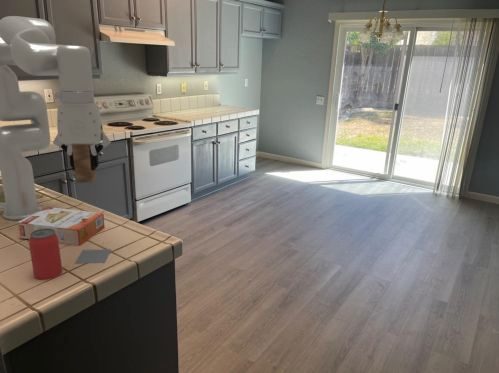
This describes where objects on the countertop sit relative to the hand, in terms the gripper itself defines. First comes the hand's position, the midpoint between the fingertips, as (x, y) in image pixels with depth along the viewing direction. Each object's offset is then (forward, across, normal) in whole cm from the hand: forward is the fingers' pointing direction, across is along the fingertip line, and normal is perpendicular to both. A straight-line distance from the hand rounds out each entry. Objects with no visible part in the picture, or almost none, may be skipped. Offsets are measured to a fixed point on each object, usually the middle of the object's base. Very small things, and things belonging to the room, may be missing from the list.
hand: (85, 168), depth 100 cm
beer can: (+27, -9, -8) cm, 29 cm away
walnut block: (+3, 0, 0) cm, 3 cm away
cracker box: (+23, -3, +14) cm, 27 cm away
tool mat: (+26, 0, 0) cm, 26 cm away
